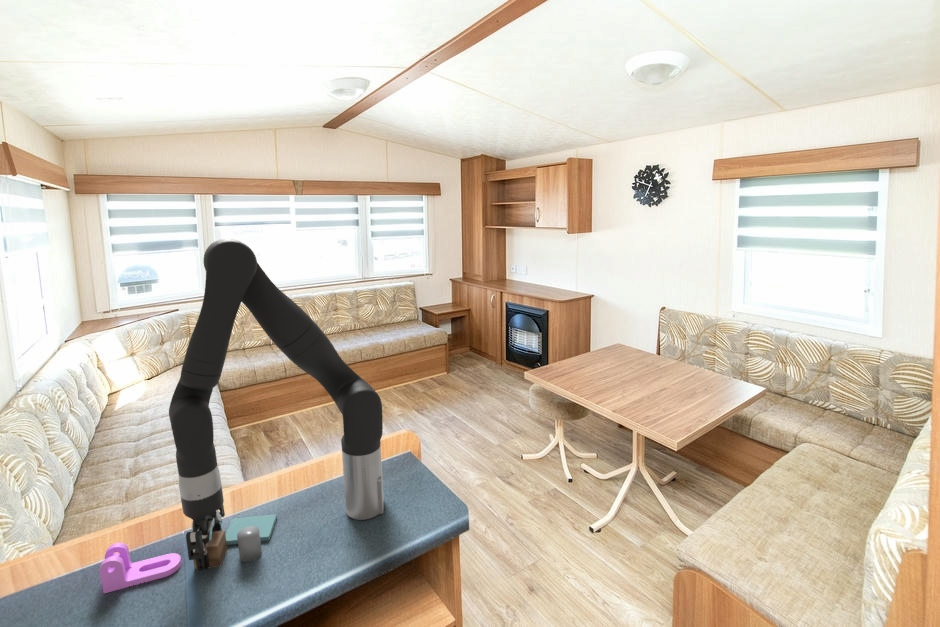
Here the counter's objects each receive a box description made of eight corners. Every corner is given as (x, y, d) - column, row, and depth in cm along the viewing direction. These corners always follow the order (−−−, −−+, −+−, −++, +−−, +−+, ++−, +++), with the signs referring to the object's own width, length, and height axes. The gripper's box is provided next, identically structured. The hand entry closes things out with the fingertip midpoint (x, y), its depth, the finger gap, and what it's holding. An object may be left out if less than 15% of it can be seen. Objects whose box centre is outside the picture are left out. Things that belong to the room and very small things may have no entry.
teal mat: (276, 517, 117) (276, 514, 117) (269, 540, 110) (269, 536, 109) (233, 522, 116) (232, 518, 115) (222, 545, 108) (221, 541, 108)
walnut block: (227, 549, 107) (224, 530, 106) (220, 566, 102) (217, 546, 101) (203, 552, 106) (200, 533, 105) (194, 569, 101) (191, 549, 100)
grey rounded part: (263, 546, 108) (261, 525, 106) (258, 560, 104) (256, 538, 102) (242, 548, 107) (240, 527, 106) (237, 563, 103) (234, 541, 101)
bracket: (103, 594, 95) (97, 564, 93) (110, 574, 100) (104, 545, 98) (179, 573, 100) (175, 544, 98) (182, 555, 105) (178, 528, 103)
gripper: (208, 507, 94) (218, 577, 97) (230, 467, 107) (238, 530, 111) (166, 511, 92) (178, 582, 96) (194, 470, 106) (203, 534, 110)
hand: (210, 554), depth 104 cm, fingers open, 8 cm apart
